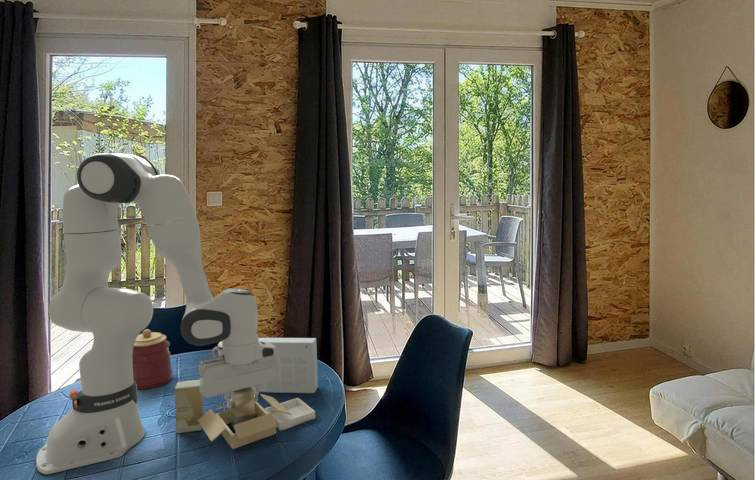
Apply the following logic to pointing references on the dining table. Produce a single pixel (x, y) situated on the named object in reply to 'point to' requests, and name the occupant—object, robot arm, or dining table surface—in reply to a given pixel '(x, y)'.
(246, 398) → the chunky box
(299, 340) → the skincare box
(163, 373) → the canister
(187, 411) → the skincare box
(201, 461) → the dining table surface
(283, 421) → the tray
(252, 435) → the carton
